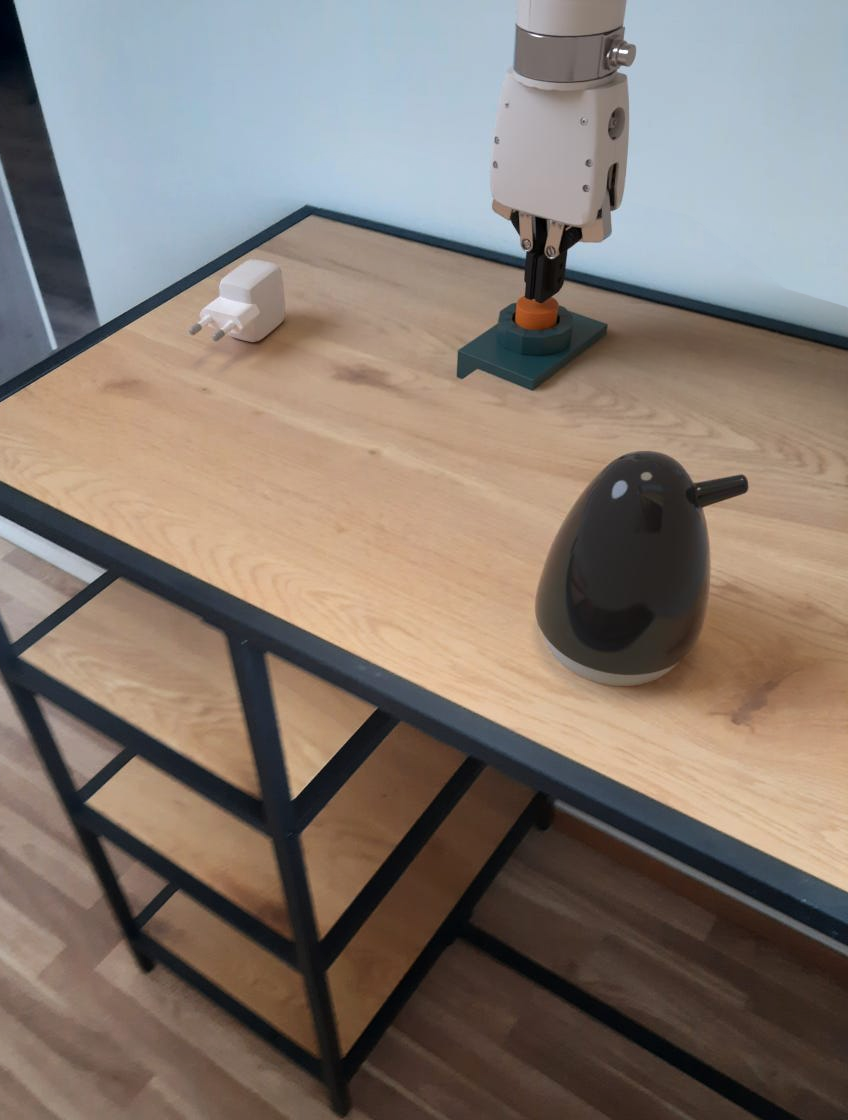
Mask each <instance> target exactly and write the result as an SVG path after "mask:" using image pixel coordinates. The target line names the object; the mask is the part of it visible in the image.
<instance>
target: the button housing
mask: <svg viewBox="0 0 848 1120" xmlns="http://www.w3.org/2000/svg"><path fill="white" fill-rule="evenodd" d="M516 305H517V302H512V303H510V304H508V305H507V306H505V307H503V308H502V309H501V310H500V311H499V314H498V319H497V323H496V324H495V325H493V326H491V327H490V328H489V329H487V330H485V331H484V332H483V333H481V334H480V335H478V336H477V337H475V338H474V339H473V340H470V341H469V342H468V343H466V344H465V345H463V346H462V347H460V348H459V349H458V350H457V356H456V357H457V359H456V378H457V379H460V380H464V379H465V378H467V377H468V376H469V375H471V374H472V373H474V372H475V371H476V370H479V371H482V372H485V373H487V374H489V375H492V376H494V377H497V378H500V379H502V380H504V381H507V382H509V383H511V384H515V385H516V386H519V387H521V388H524V389H526V390H529V391H531V392H533V391H535V390H536V389H537V388H538V387H540V386H541V385H542V384H544V383H545V382H546V381H548V380H549V379H551V378H552V377H553V376H554V375H556V374H557V373H558V372H560V371H561V370H562V369H563V368H565V367H566V366H567V365H569V364H570V363H572V361H574V360H576V359H577V358H578V357H579V356H580V355H582V354H584V352H586V351H587V350H588V349H589V348H591V347H592V346H593V345H595V344H596V343H598V342H599V341H600V340H601V339H603V338H604V337H605V336H606V335H607V333H608V327H609V324H608V323H606V322H603V321H600V320H597V319H594V318H592V317H588V316H585V315H583V314H580V313H576V312H574V311H571V310H569V309H567V308H566V307H565V306H562V305H560V304H558V305H559V306H558V314H557V322H556V325H555V326H554V327H553V328H551V329H546V330H541V331H539V330H528V329H525V328H522V327H520V326H517V325H516V323H515V316H516Z"/></svg>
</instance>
